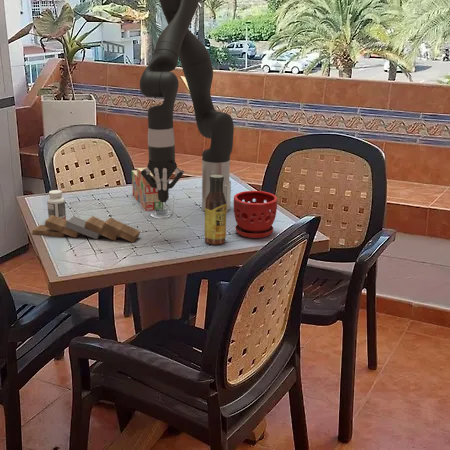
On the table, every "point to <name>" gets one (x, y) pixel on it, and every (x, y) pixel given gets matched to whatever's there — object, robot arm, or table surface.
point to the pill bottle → (56, 204)
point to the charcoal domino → (81, 227)
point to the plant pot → (255, 213)
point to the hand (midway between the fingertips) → (163, 201)
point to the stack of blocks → (145, 191)
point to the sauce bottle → (215, 212)
